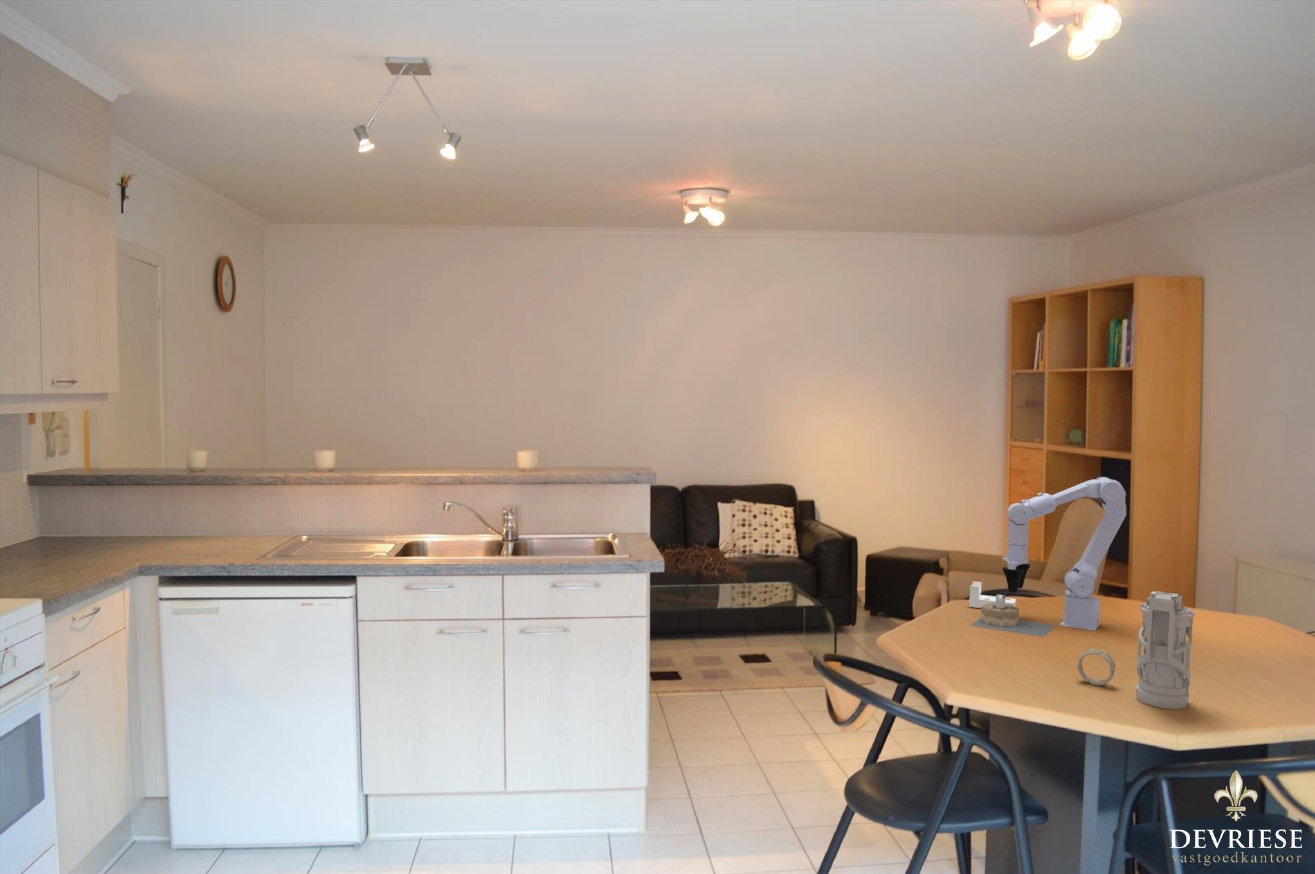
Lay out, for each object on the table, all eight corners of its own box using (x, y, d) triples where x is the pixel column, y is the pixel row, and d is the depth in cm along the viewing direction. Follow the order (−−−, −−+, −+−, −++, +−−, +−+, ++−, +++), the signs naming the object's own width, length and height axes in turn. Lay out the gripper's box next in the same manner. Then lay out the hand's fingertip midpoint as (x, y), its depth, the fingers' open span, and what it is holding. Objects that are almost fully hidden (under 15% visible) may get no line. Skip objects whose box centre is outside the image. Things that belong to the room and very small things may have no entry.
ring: (1020, 621, 276) (1021, 606, 276) (1012, 628, 268) (1013, 612, 268) (986, 616, 282) (987, 601, 281) (978, 623, 274) (979, 607, 273)
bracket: (969, 609, 293) (970, 585, 292) (971, 604, 299) (972, 581, 299) (1013, 614, 287) (1014, 590, 287) (1015, 610, 294) (1016, 586, 293)
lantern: (1139, 690, 216) (1145, 582, 214) (1191, 700, 209) (1198, 589, 208) (1128, 705, 205) (1134, 591, 204) (1182, 716, 199) (1189, 599, 198)
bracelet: (1079, 678, 224) (1080, 645, 223) (1115, 685, 219) (1117, 651, 219) (1075, 682, 221) (1076, 648, 220) (1112, 689, 216) (1114, 655, 216)
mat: (1055, 626, 273) (1055, 625, 273) (1044, 638, 260) (1044, 636, 260) (984, 615, 284) (984, 614, 284) (970, 626, 271) (970, 625, 271)
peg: (1005, 622, 275) (1006, 595, 275) (1003, 624, 273) (1004, 596, 273) (995, 620, 277) (997, 593, 276) (993, 622, 275) (995, 595, 274)
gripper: (1008, 539, 285) (1007, 584, 286) (997, 546, 273) (995, 592, 274) (1033, 542, 281) (1031, 587, 282) (1023, 548, 269) (1021, 595, 270)
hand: (1015, 590), depth 278 cm, fingers open, 7 cm apart
